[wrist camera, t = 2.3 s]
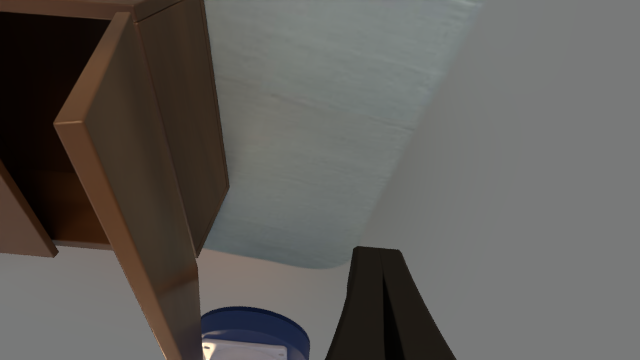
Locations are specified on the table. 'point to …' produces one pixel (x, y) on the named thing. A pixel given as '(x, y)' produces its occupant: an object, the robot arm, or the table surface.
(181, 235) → the box lid
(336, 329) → the robot arm
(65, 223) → the wooden cabinet
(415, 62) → the table surface
